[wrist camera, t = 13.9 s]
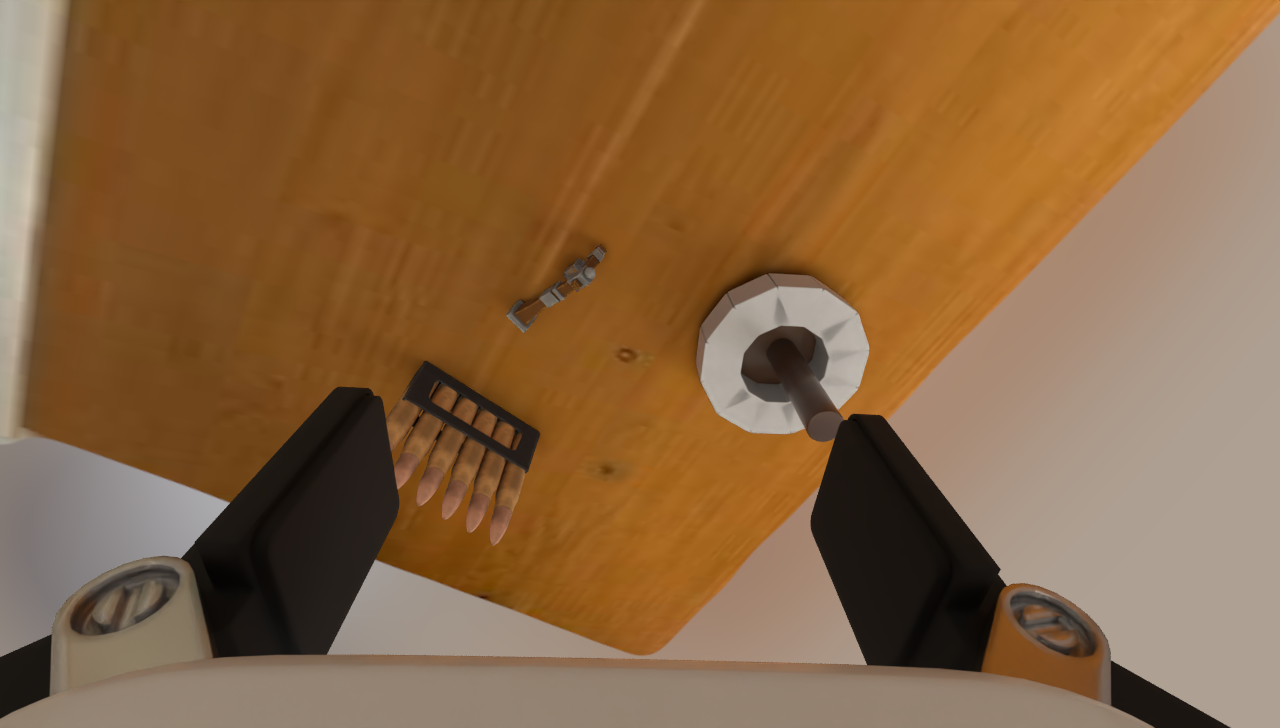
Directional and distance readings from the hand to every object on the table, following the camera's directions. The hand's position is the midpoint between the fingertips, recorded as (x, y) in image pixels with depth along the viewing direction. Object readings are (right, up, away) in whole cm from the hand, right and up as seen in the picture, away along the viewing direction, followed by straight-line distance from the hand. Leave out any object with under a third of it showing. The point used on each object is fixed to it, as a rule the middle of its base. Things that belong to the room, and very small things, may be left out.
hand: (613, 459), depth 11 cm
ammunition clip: (-12, -1, +32) cm, 34 cm away
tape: (+11, +3, +29) cm, 31 cm away
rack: (+11, +3, +30) cm, 32 cm away
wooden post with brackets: (-5, +8, +27) cm, 29 cm away
